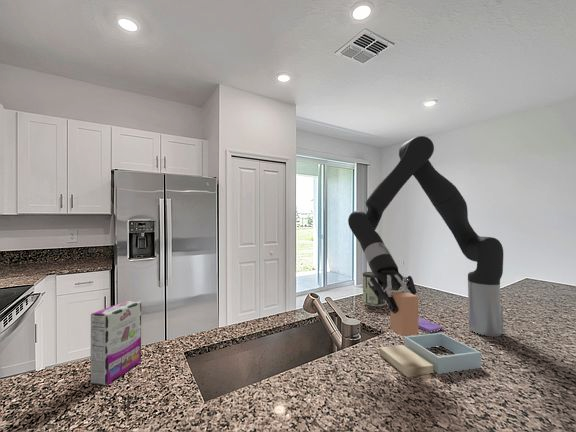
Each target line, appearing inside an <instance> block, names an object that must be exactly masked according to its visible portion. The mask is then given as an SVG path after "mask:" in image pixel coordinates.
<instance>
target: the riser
mask: <svg viewBox="0 0 576 432" xmlns="http://www.w3.org/2000/svg"><path fill="white" fill-rule="evenodd" d="M379 355H380V356H381V357H382V358H383V359H385V361H387V362H388V363H389V364H391V366H393V367H394V368H395V369H397V370H398V372H400V373H401V374H402V375H404V376H405V377H406V378H411V377H418V375H419V376H425V374H426V375H431V374H430V373H433V374H434V371H433V365H432V364H431V363H429V362H428V361H426V360H425V359H423V358H422V357H420V356H419V355H417V354H416V353H414V352H413V351H411V350H410V349H408V348H407V347H405V346H404V344H399V345H397V344H396V345H388V346H381V347H379Z"/></svg>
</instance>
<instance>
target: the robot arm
mask: <svg viewBox="0 0 576 432" xmlns="http://www.w3.org/2000/svg"><path fill="white" fill-rule="evenodd" d="M434 151H435V144H434V143H433V141H432V140H431V138H429V137H428V136H424V135H422V136H421V135H420V136H416V137H412V138H411V139H409V140H407V141H405V142H404V143H403V144H401V146H400V147H399V150H398V157H399V162H398V163H397V164H396V165H395V167H394V168H393V169H392V171H391V172H390V173H388V174H387V176H386V177H385V178H383V180H381V181H380V183H379V184H378V185H377V186H376V187H375V189H374V190H373V191H372V193H371V194H370V195H369V197H368V198H367V200H366V201H365V206H366V208H367V210H366V212H364V211H362V210H355V211H352V212H351V213H350V214H349V216H348V220H347V221H348V223H347V224H348V226H349V229H350V231H351V232H352V233H353V235H354V237H355V238H356V239H357V241H358V242H359V245H360V247H361V250H362V251H363V254H364V256H365V257H364V258H365V260H366V262H367V265H368V267H369V270H370V272H372V273H373V275H374V277H375V278H373V277H371V279H370V280H369V282H368V285H369V286H370V288H371V289H372V290H373V292H374V293H375V295H376V296H377V298H378V299H379V300H381V299H384V300H385V303H386V304H387V307H388V308H389V310H391V311H392V312H393V313H397V312H398V310H399V309H398V307H397V305H396V302H395V300H394V298H393V297H392V294H391V293H392V291H394V292H408V293H411V294H414V295H416V294H417V288H416V286H415V282H414V279H413V277H412V276H411V275H408V276H403V275H402V274H401V273H400V272H399V266H398V265H397V263H396V261H395V259H394V257H393V256H392V254H391V252H390V250H389V248H388V247H387V246H386V245H385V243H384V241H383V239H382V237H381V236H380V234H379V232H377V231H376V229H377V228H378V226H379V223H380V221H381V219H382V216H383V213H384V211H385V210H386V209H387V207H388V206H389V205H390V204H391V202H392V201H393V200H394V198H395V197H396V196H397V195H398V193H399V192H400V191H401V189H402V188H403V187H404V186H405V184H406V183H407V182H408V181H409V179H411V177H412V176H413V177H414V178H415V179H416V181H417V183H418V184H419V185H420V187H421V189H422V191H423V193H425V195H426V196H427V198H428V199H429V200H430V203H431V204H432V206H433V208H434V209H435V210H436V212H437V213H438V214H439V215H440V216H441V218H442V220H443V222H444V223H445V224H446V226H447V227H448V229H449V230H450V231H451V234H452V236H453V237H454V239H455V241H456V243H457V245H458V246H459V249H460V251H461V252H462V254H463V255H464V257H465V258H466V259H467V260H469V261H472V262H475V263H476V268H475V270H474V271H473V270H472V271H470V272H468V273H467V296H468V297H467V299H468V300H467V302H468V303H467V304H468V310H467V311H468V330H469V329H470V330H471V332H472V331H473V333H474V332H475V334H477V333H478V334H477V335H480V334H481V336H484V335H485V336H484V337H491V338H492V337H494V338H495V337H496V338H497V337H500V336H502V335H504V309H503V308H504V307H503V304H502V305H501V279H502V277H503V273H504V247H503V245H502V243H501V241H500V240H499V239H497V238H495V237H491V236H480V235H479V234H477V233H476V231H475V230H474V229H473V227H472V225H471V223H470V222H469V217H468V216H469V215H468V205H467V202H466V200H465V198H464V197H463V195H462V193H461V192H460V191H459V189H458V187H456V185H454V183H452V182H451V181H450V180H449V179H447V178H446V177H445V176H444V175H442V173H440V172H439V171H437V170H436V168H435V167H434V166H433V164H432V163H431V162H430V159H431V157H432V156H433V155H434ZM379 284H380V285H381V286H382V288H381V287H380V285H379ZM378 291H379V292H378ZM470 330H469V331H470Z"/></svg>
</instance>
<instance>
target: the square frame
mask: <svg viewBox="0 0 576 432" xmlns="http://www.w3.org/2000/svg"><path fill="white" fill-rule="evenodd" d="M403 338H404V339H403V343H404V344H403V345H404V346H405V347H407V348H408V349H410V350H411V351H413V352H414V353H416V354H417V355H419V356H420V357H422V358H423V359H425V360H426V361H428V362H429V363H431V364H432V365H433V370H434V371H433V372H435V373H436V372H437V373H436V374H437V375H441V374H443V373H444V374H448V373H449V372H450V373H455V372H454V371H457V372H462V370H464V371H469V369H470V370H475V369H482V352H481V351H479V350H477V349H475V348H473V347H472V346H469V345H467V344H465V343H463V342H461V341H459V340H457V339H454V338H453V337H451V336H450V335H447V334H445V333H443V332H434V333H425V334H418V335H408V336H403ZM436 346H442V347H444V348H446V349H448V350H450V351H452V352H453V353H455V354H453V353H452V354H447V355H440V356H439V355H437V354H435V353H433V352H432V351H430V349H432V348H431V347H436ZM442 347H441V348H442ZM426 348H429V350H428V349H426ZM444 348H443V349H444ZM446 349H445V350H446ZM448 350H447V351H448ZM450 351H449V352H450Z"/></svg>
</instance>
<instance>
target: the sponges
mask: <svg viewBox="0 0 576 432" xmlns="http://www.w3.org/2000/svg"><path fill="white" fill-rule="evenodd" d="M419 328H421V329H420V330H422V329H424V330H427V331H430V332H431V331H434V330H438V329H442V328H443V329H444V326H443V325H440V324H438V323H433V322H432V321H429V320H427V319H424V318H422V317H420V316H418V329H419ZM424 330H423V331H424Z"/></svg>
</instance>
